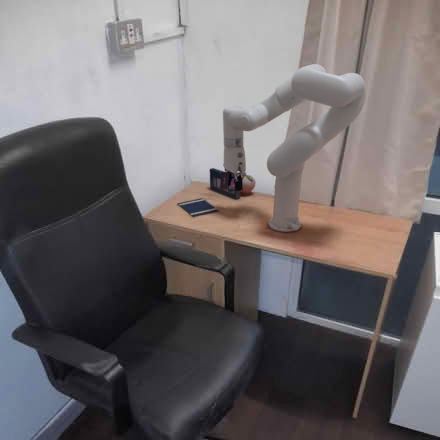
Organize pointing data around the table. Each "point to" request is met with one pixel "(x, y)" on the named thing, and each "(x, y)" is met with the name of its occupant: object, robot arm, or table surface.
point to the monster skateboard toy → (227, 180)
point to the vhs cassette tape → (215, 184)
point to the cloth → (197, 207)
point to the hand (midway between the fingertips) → (234, 187)
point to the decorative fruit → (248, 184)
